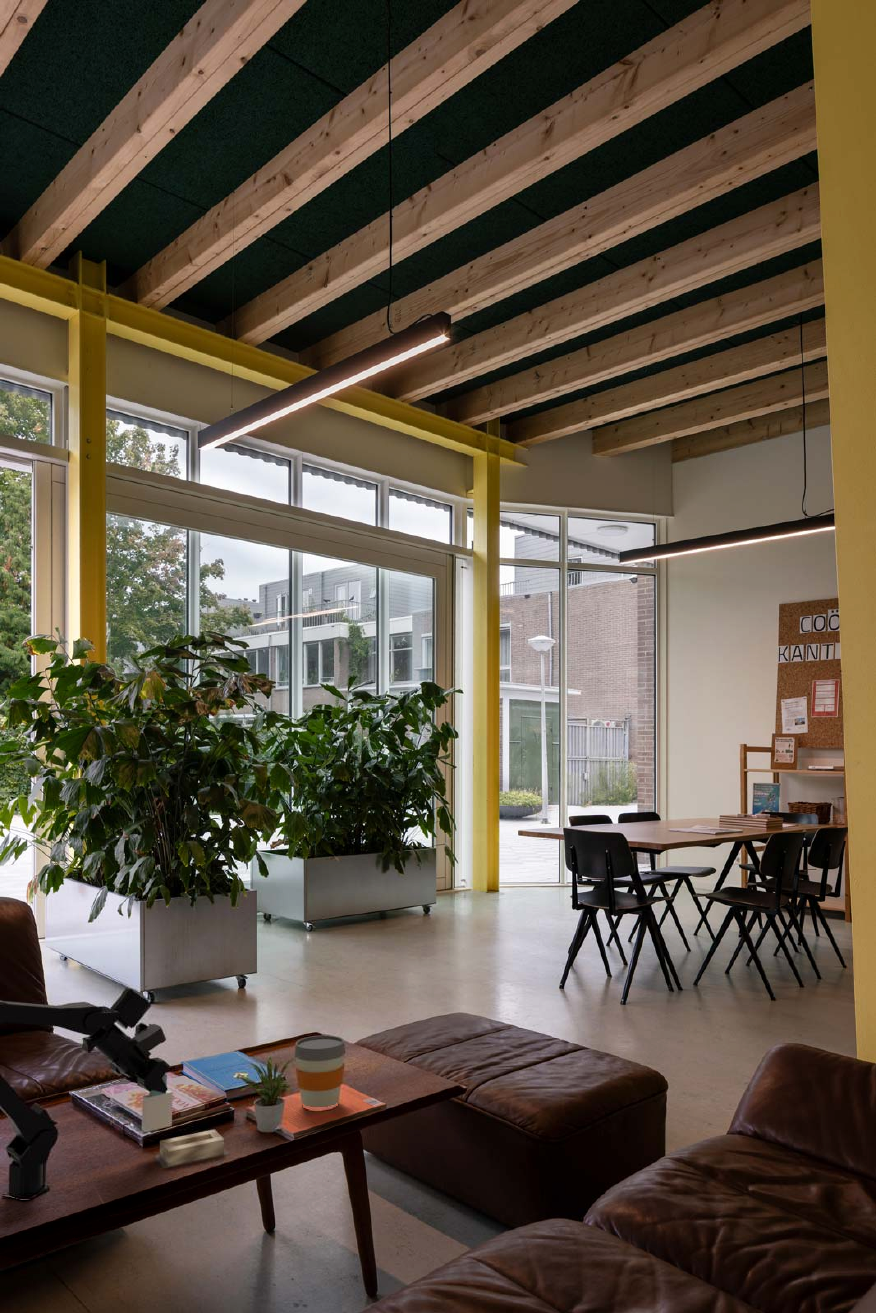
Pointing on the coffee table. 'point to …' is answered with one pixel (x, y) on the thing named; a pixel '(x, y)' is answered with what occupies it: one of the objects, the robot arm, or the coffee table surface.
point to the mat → (186, 1162)
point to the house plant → (268, 1096)
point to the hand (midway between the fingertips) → (163, 1089)
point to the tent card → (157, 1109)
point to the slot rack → (191, 1147)
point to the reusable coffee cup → (320, 1069)
